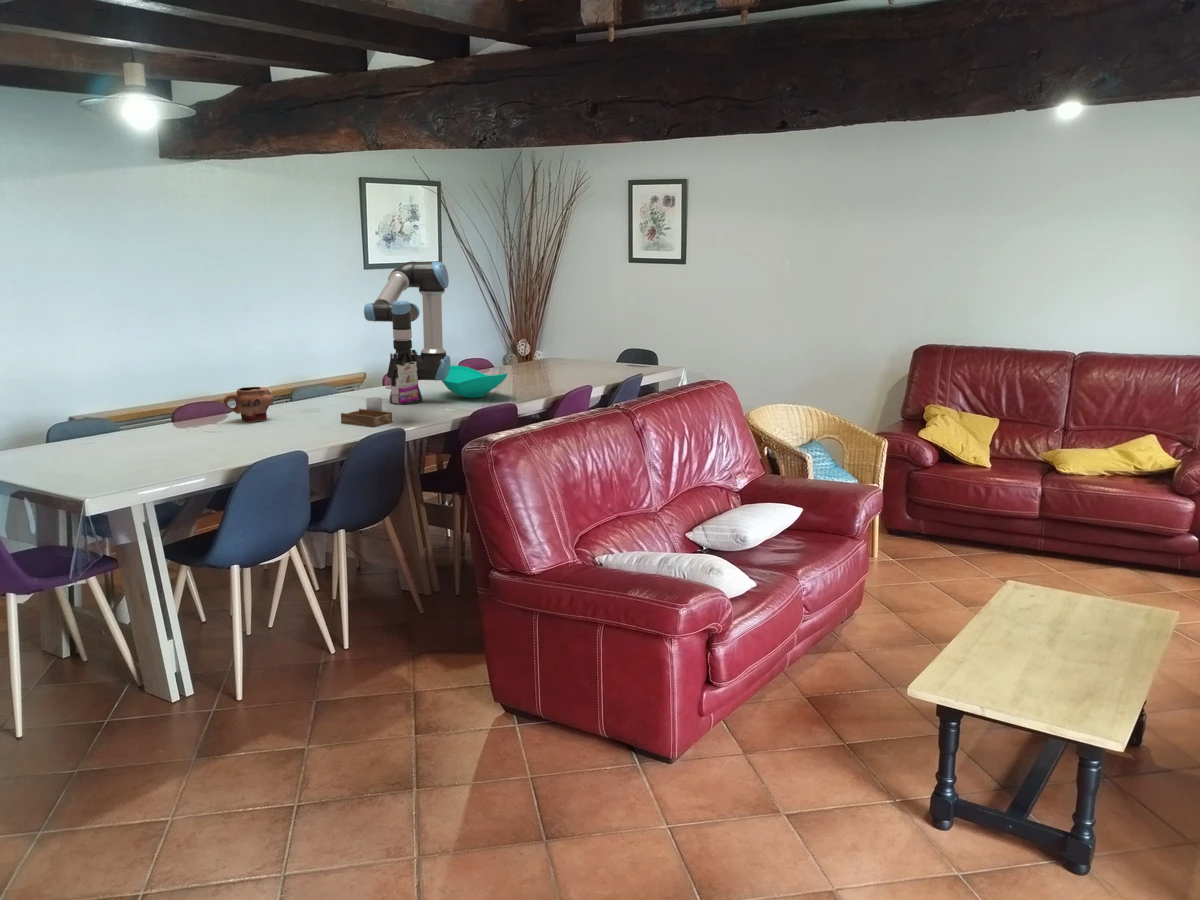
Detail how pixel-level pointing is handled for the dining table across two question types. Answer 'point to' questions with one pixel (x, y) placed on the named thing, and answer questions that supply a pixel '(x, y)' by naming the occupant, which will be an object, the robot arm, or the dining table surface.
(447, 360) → the robot arm
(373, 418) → the crate
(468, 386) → the table top decor
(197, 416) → the dining table surface
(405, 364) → the candy bar box
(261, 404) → the brown sculpted mug
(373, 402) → the white rounded block
